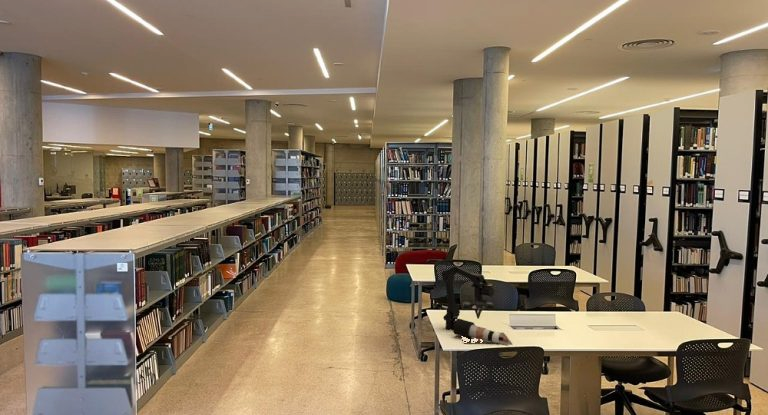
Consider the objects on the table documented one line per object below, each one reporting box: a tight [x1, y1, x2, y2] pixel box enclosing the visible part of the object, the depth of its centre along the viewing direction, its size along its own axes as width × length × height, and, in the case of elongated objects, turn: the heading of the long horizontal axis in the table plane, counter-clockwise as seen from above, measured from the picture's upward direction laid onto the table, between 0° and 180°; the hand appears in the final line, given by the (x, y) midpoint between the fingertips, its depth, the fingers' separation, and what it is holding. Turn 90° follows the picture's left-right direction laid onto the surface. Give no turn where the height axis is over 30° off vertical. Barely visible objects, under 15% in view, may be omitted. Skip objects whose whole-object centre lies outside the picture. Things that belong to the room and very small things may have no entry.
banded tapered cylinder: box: [452, 318, 509, 343], centre depth 335 cm, size 10×34×10 cm, turn 57°
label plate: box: [463, 331, 513, 346], centre depth 340 cm, size 30×26×1 cm
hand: (478, 318), depth 345 cm, fingers closed
